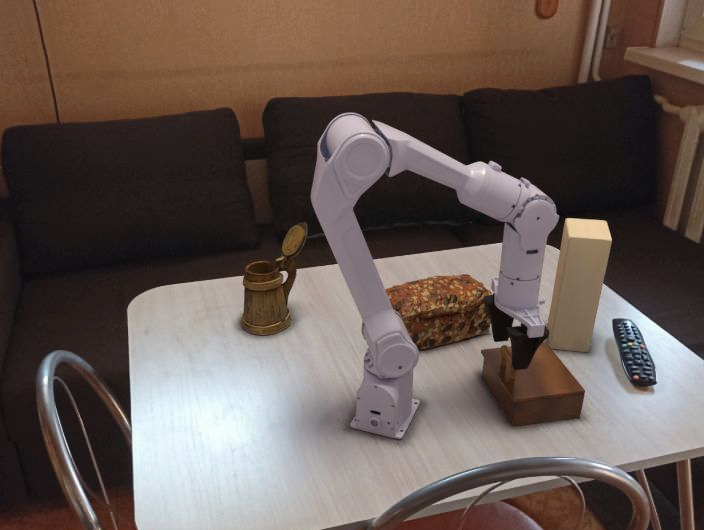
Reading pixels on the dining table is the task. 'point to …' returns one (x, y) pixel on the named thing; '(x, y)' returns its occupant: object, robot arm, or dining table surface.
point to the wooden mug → (271, 287)
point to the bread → (441, 309)
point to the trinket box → (533, 404)
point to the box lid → (532, 375)
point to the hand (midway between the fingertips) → (510, 353)
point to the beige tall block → (578, 283)
